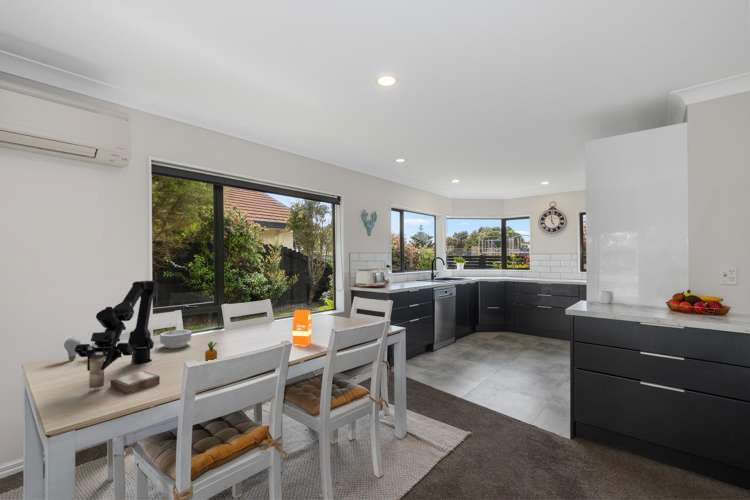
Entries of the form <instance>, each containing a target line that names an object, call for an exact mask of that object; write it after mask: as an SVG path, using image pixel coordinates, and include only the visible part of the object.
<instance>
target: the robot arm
mask: <svg viewBox="0 0 750 500" xmlns="http://www.w3.org/2000/svg"><path fill="white" fill-rule="evenodd" d="M159 288H160V284H159V282H158V281H157V280H140V281H139V280H138V281H133V283H132V287H130V289H129V291H128V292H127V294H126V296H125V297H124V299H122V302H120V303H118V304H116V305H115V306H114V307H113V306H106V307H105V308H104V309H101V310H100V311H98V312H97V314H96V315H95V318H96V320H97V321H98V322H99V324H100V325H101V326H102V328H104V331H102V332H101V333H100V332H92V335H91V339H90V342H92V343H94V344H95V345H97V347H93V346H92V345H90V344H89V343H81V344H79V345H77V346H76V347H75V349H74V351H75V352H76V353H77V354H76V355H78V356H79V357H81V358H87V365H86V367H87V368H86V370H87V371H88V372H90V358H91V356H94V355H96V353H97V352H108V355H107V357H106V358H104V363H103V365H102V368H101V369H102V370H104V371H105V370H106V368H108V367H109V366H110V365H111V364H113V362H115V361H116V360H118V359H119V358H122V355H123V356H124V357H125V356H131V361H130V363H132V364H135V365H141V364H145V363H148V362H151V361H153V359H151V350H152V349H154V345H155V342H154V340H153V339H152V338H151V334H152V333H151V332H150V330H149V323H150V317H151V309H152V303H153V299H154V298H155V296H157V295H158V290H160V289H159ZM139 300H140V301H139ZM138 301H139V307H138V312H137V319H136V324H135V328H134V329H133V330H131V331H130V332H129V337H128V340H127V341H128V342H121V339H120V337H121V335H122V333H123V331H125V330H127V329H126V326H125V325H126V324H125V323H124V322H129V321H130V320H132V318H133V317H134V315H135V314H134V313H135V309H134V307H135V306H136V304H137V302H138ZM115 346H116V347H115Z"/></svg>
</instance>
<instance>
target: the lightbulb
mask: <svg viewBox="0 0 750 500" xmlns="http://www.w3.org/2000/svg"><path fill="white" fill-rule="evenodd" d="M79 344H82V342H81V339H79V338H78V337H69V338H67V339H66V340H65V342H64V343H63V347H64V349H65V350H66V352H67V356H68V361H74V360H76V358H77V355H78V354H77V353H76V352H75V351H74V349H75V347H76V346H77V345H79Z"/></svg>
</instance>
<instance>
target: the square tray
mask: <svg viewBox="0 0 750 500" xmlns="http://www.w3.org/2000/svg"><path fill="white" fill-rule="evenodd" d="M160 376H161V375H157V374H155V373H151V372H148V371H145V370H141V371H138V372H134V373H131V374H128V375H123V376H120V377H119V376H118V377H116V378H112V379H110V389H113V390H116V391H118V392H121V393H122V394H126V395H128V394H131V392H132V393H134V392H133V391H135V392H138V391H141V390H144V389H147V388H150V387H153V386H156V384H157V385H160V381H161V380H160V378H161V377H160ZM149 386H150V387H149ZM146 387H147V388H146ZM143 388H144V389H143ZM140 389H141V390H140ZM137 390H138V391H137Z"/></svg>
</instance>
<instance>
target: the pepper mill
mask: <svg viewBox="0 0 750 500" xmlns="http://www.w3.org/2000/svg"><path fill="white" fill-rule="evenodd" d="M104 361H105V358H104V356H103V355H94V356H91V358H90V371H89V373H88V374H89V377H88V379H89V380H88V381H89V383H88V384H89V385H88V387H89V389H98V388H101V387H102V388H103V387H104V385H105V369H104V370H102V369H101V368H102V365H103V363H104Z"/></svg>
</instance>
